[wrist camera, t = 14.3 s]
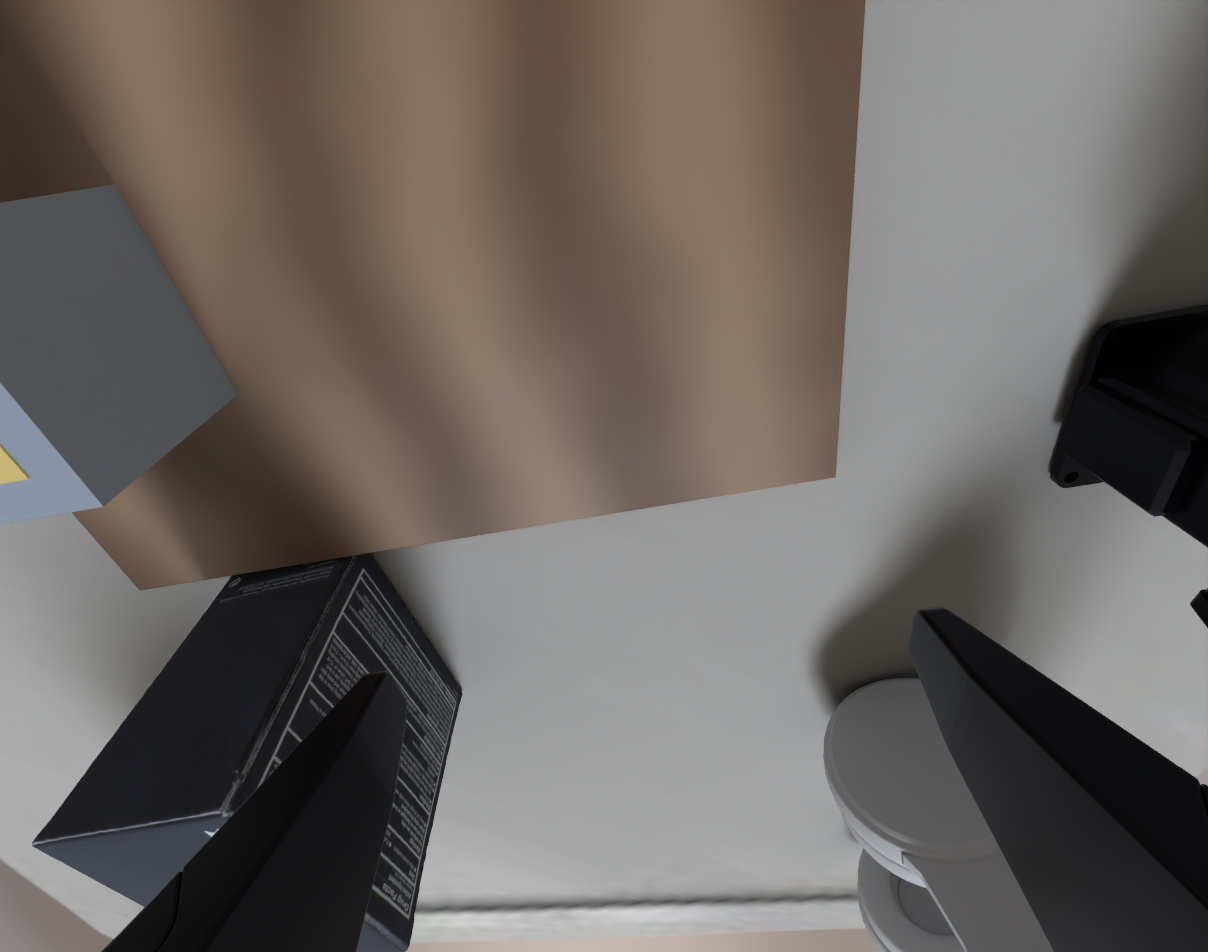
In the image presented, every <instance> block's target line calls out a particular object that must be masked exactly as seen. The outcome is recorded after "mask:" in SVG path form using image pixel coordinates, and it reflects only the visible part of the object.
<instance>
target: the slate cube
mask: <svg viewBox="0 0 1208 952" xmlns="http://www.w3.org/2000/svg"><path fill="white" fill-rule="evenodd" d="M237 395H238V393H237V391H236V389H235V388H234V386H233V384H232V383H231V381H230V379H229V377H228V376H227V374H226V372H225V371H224V369H223V367H222V366H221V364H220V362H219V360H218V359H217V357H216V355H215V354H214V352H213V350H212V348H211V347H210V345H209V343H208V342H207V340H206V338H205V336H204V335H203V333H202V331H201V330H200V328H199V326H198V325H197V323H196V321H195V319H194V318H193V316H192V314H191V313H190V311H189V309H188V307H187V306H186V304H185V302H184V301H183V299H182V297H181V295H180V294H179V292H178V290H177V289H176V287H175V285H174V283H173V282H172V280H171V278H170V277H169V275H168V273H167V272H166V270H165V268H164V266H163V265H162V263H161V261H160V260H159V258H158V256H157V254H156V253H155V251H154V249H153V248H152V246H151V244H150V242H149V241H148V239H147V237H146V236H145V234H144V232H143V231H142V229H141V227H140V225H139V224H138V222H137V220H136V219H135V217H134V215H133V213H132V212H131V210H130V208H129V207H128V205H127V203H126V201H125V200H124V198H123V196H122V195H121V193H120V191H119V190H118V188H117V186H116V184H114V185H108V186H102V187H95V188H89V189H83V190H77V191H70V192H64V193H58V194H52V195H46V196H39V197H33V198H27V199H21V200H15V201H8V202H2V203H0V525H1V524H7V523H13V522H18V521H24V520H30V519H36V518H41V517H47V516H53V515H59V514H64V513H70V512H76V511H82V510H87V509H93V508H99V507H104V506H105V505H106V504H107V503H108V502H110V501H111V500H112V499H113V498H114V497H116V496H117V495H118V494H119V493H120V492H122V491H123V490H124V489H125V488H126V487H128V486H129V485H130V484H131V483H132V482H134V481H135V480H136V479H137V478H138V477H140V476H141V475H142V474H143V473H144V472H146V471H147V470H148V469H149V468H150V467H152V466H153V465H154V464H155V463H156V462H158V461H159V460H160V459H161V458H162V457H164V456H165V455H166V454H167V453H168V452H170V451H171V450H172V449H173V448H174V447H176V446H177V445H178V444H179V443H180V442H182V441H183V440H184V439H185V438H186V437H188V436H189V435H190V434H191V433H192V432H194V431H195V430H196V429H197V428H198V427H200V426H201V425H202V424H203V423H204V422H206V421H207V420H208V419H209V418H210V417H212V416H213V415H214V414H215V413H216V412H218V411H219V410H220V409H221V408H222V407H223V406H225V405H226V404H227V403H228V402H229V401H231V400H232V399H233V398H234V397H235V396H237Z"/></svg>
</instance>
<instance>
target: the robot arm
mask: <svg viewBox="0 0 1208 952" xmlns="http://www.w3.org/2000/svg"><path fill="white" fill-rule="evenodd" d="M1116 334H1117V335H1116ZM1114 335H1116V336H1115V338H1114V339H1113V340H1112V341H1110V340H1111V339H1112V337H1113V336H1114ZM1050 478H1051V479H1052V481H1053V482H1055V483H1056V484H1057V485H1059V486H1060V487H1062V488H1069V487H1076V486H1082V485H1088V484H1095V483H1101V482H1105V483H1106V484H1108V485H1109V486H1111V487H1112V488H1113V489H1115V490H1116V491H1118V492H1119V493H1121V494H1122V495H1123V496H1125V497H1126V498H1128V499H1129V500H1130V501H1132V502H1133V503H1135V504H1136V505H1137V506H1139V507H1140V508H1142V509H1143V510H1145V511H1146V512H1147V513H1149V514H1150V515H1153V516H1161V515H1162V516H1163V517H1165V518H1166V519H1167V520H1169V521H1170V522H1172V523H1173V524H1175V525H1176V526H1178V527H1179V528H1180V529H1182V530H1183V531H1185V532H1186V533H1188V534H1189V535H1190V536H1192V537H1193V538H1195V539H1196V540H1198V541H1199V542H1200V543H1202V544H1203V545H1205V546H1206V547H1208V305H1203V306H1197V307H1191V308H1186V309H1180V310H1174V311H1168V312H1163V313H1157V314H1151V315H1145V316H1140V317H1134V318H1128V319H1123V320H1117V321H1112V322H1109V323H1107V324H1105V325H1104V326H1102V327H1101V328H1100V329H1099V330H1098V331H1097V332H1096V334H1095V336H1094V338H1093V340H1092V344H1091V347H1090V350H1089V353H1088V356H1087V359H1086V363H1085V366H1084V369H1083V372H1082V375H1081V379H1080V382H1079V385H1078V388H1077V391H1076V394H1075V398H1074V401H1073V404H1072V407H1071V410H1070V413H1069V417H1068V420H1067V423H1066V426H1065V429H1064V433H1063V436H1062V439H1061V442H1060V445H1059V448H1058V452H1057V455H1056V458H1055V461H1054V464H1053V467H1052V471H1051V475H1050ZM1190 605H1191V607H1192V608H1193V609H1194V610H1195V612H1196V613H1197V614H1198V616H1199V617H1200V618H1201V620H1202V621H1203V622H1204V624H1205V625H1206V626H1207V628H1208V588H1207V590H1201V591H1200V592H1199V593H1198V594H1197V595H1196V597H1195V598H1194V599H1193V600H1192V601H1191V603H1190ZM909 650H910V654H911V657H912V660H913V663H914V665H915V668H916V670H917V673H918V675H919V678H920V680H921V683H922V685H923V688H924V691H925V693H926V696H927V698H928V701H929V703H930V706H931V708H932V711H933V713H934V716H935V718H936V721H937V723H938V726H939V728H940V731H941V733H942V736H943V738H944V741H945V743H946V745H947V748H948V750H949V752H950V754H951V756H952V758H953V760H954V762H955V764H956V766H957V768H958V770H959V771H960V773H961V775H962V777H963V779H964V781H965V783H966V785H967V787H968V789H969V791H970V792H971V794H972V796H973V798H974V800H975V802H976V804H977V806H978V808H979V810H980V812H981V813H982V815H983V817H984V819H985V821H986V823H987V825H988V827H989V829H990V831H991V833H992V835H993V836H994V838H995V840H996V842H997V844H998V846H999V848H1000V850H1001V852H1002V854H1003V856H1004V857H1005V859H1006V861H1007V863H1008V865H1009V867H1010V869H1011V871H1012V873H1013V875H1014V877H1015V878H1016V880H1017V882H1018V884H1019V886H1020V888H1021V890H1022V892H1023V894H1024V896H1025V898H1026V899H1027V901H1028V903H1029V905H1030V907H1031V909H1032V911H1033V913H1034V915H1035V917H1036V919H1037V920H1038V922H1039V924H1040V926H1041V928H1042V930H1043V932H1044V934H1045V936H1046V938H1047V940H1048V941H1049V943H1050V945H1051V947H1052V949H1053V951H1054V952H1208V786H1207V785H1205V784H1201V785H1200V783H1199V781H1198V780H1197V779H1196V778H1195V777H1194V776H1192V775H1191V774H1189V773H1188V772H1186V771H1185V770H1183V769H1182V768H1180V767H1179V766H1177V765H1176V764H1174V763H1173V762H1171V761H1170V760H1169V759H1167V758H1166V757H1164V756H1163V755H1161V754H1160V753H1158V752H1157V751H1155V750H1154V749H1152V748H1151V747H1149V746H1148V745H1146V744H1145V743H1144V742H1142V741H1141V740H1139V739H1138V738H1136V737H1135V736H1133V735H1132V734H1130V733H1129V732H1127V731H1126V730H1124V729H1123V728H1121V727H1120V726H1118V725H1117V724H1116V723H1114V722H1113V721H1111V720H1110V719H1108V718H1107V717H1105V716H1104V715H1102V714H1101V713H1099V712H1098V711H1096V710H1095V709H1093V708H1092V707H1091V706H1089V705H1088V704H1086V703H1085V702H1083V701H1082V700H1080V699H1079V698H1077V697H1076V696H1074V695H1073V694H1071V693H1070V692H1068V691H1067V690H1065V689H1064V688H1063V687H1061V686H1060V685H1058V684H1057V683H1055V682H1054V681H1052V680H1051V679H1049V678H1048V677H1046V676H1045V675H1043V674H1042V673H1040V672H1039V671H1038V670H1036V669H1035V668H1033V667H1032V666H1030V665H1029V664H1027V663H1026V662H1024V661H1023V660H1021V659H1020V658H1018V657H1017V656H1015V655H1014V654H1012V653H1011V652H1010V651H1008V650H1007V649H1005V648H1004V647H1002V646H1001V645H999V644H998V643H996V642H995V641H993V640H992V639H990V638H989V637H987V636H986V635H984V634H983V633H982V632H980V631H979V630H977V629H976V628H974V627H973V626H971V625H970V624H968V623H967V622H965V621H964V620H962V619H961V618H959V617H958V616H957V615H955V614H954V613H952V612H951V611H949V610H947V609H945V608H942V607H935V608H926V609H919V610H917V611H916V612H915V614H914V618H913V623H912V629H911V634H910V639H909ZM406 716H407V702H406V699H405V697H404V695H403V693H402V691H401V690H400V688H399V686H398V685H397V683H396V681H395V679H394V678H393V676H392V675H391V674H390V673H389V672H387V671H383V672H374V673H368V674H366V675H364V676H363V677H361V678H360V679H359V680H358V682H357V683H356V684H355V685H354V686H353V687H352V688H351V689H350V690H349V691H348V692H347V693H346V694H345V695H344V696H343V697H342V699H341V700H340V701H339V702H338V703H337V704H336V705H335V706H334V707H333V708H332V709H331V710H330V711H329V712H328V713H327V715H326V716H325V717H324V718H323V719H322V720H321V721H320V722H319V723H318V724H317V725H316V726H315V727H314V728H313V729H312V730H311V732H310V733H309V734H308V735H307V736H306V737H305V738H304V739H303V740H302V741H301V742H300V743H299V744H298V745H297V746H296V748H295V749H294V750H293V751H292V752H291V753H290V754H289V755H288V756H287V757H286V758H285V759H284V760H283V761H282V762H281V763H280V765H279V766H278V767H277V768H276V769H275V770H274V771H273V772H272V773H271V774H270V775H269V776H268V777H267V778H266V779H265V781H264V782H263V783H262V784H261V785H260V786H259V787H258V788H257V789H256V790H255V791H254V792H253V793H252V794H251V795H250V796H249V798H248V799H247V800H246V801H245V802H244V803H243V804H242V805H241V806H240V807H239V808H238V809H237V810H236V811H235V812H234V814H233V815H232V816H231V817H230V818H229V819H228V820H227V821H226V822H225V823H224V824H223V825H222V826H221V827H220V828H219V829H218V831H217V832H216V833H215V834H214V835H213V836H212V837H211V838H210V839H209V840H208V841H207V842H206V843H205V844H204V845H203V847H202V848H201V849H200V850H199V851H198V852H197V853H196V854H195V855H194V856H193V857H192V858H191V859H190V860H189V861H188V862H187V864H186V865H185V866H184V867H183V871H181V872H178V873H177V874H176V875H175V876H174V877H173V878H172V879H171V880H170V881H169V882H168V884H167V885H166V886H165V887H164V888H163V889H162V890H161V891H160V892H159V893H158V894H157V895H156V896H155V897H154V898H153V899H152V900H151V902H150V903H149V904H148V905H147V906H146V907H145V908H144V909H143V910H142V911H141V912H140V913H139V914H138V915H137V916H136V917H135V918H134V919H133V920H132V921H131V922H130V923H129V924H128V925H127V926H126V927H125V928H124V929H123V930H122V932H121V933H120V934H119V935H118V936H117V937H116V938H115V939H114V940H112V942H110V943H109V944H108V945H107V946H106V947H105V948H104V949H103V950H102V951H101V952H356V950H357V946H358V942H359V938H360V935H361V931H362V927H363V923H364V919H365V915H366V911H367V907H368V903H369V899H370V895H371V891H372V887H373V883H374V879H375V875H376V871H377V867H378V863H379V859H380V855H381V851H382V847H383V843H384V839H385V835H386V831H387V827H388V823H389V819H390V815H391V810H392V806H393V802H394V796H395V791H396V785H397V778H398V771H399V764H400V757H401V751H402V744H403V737H404V730H405V723H406Z"/></svg>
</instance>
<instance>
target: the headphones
mask: <svg viewBox="0 0 1208 952" xmlns="http://www.w3.org/2000/svg"><path fill="white" fill-rule="evenodd" d="M823 756H824V765H825V773H826V777H827V780H828V784H829V787H830V790H831V792H832V794H833V796H834V798H835V801H836V803H837V805H838V807H839V809H840V811H841V813H842V815H843V818H844V820H845V822H846V824H847V826H848V827H849V829H850V830H851V832H852V834H853V835H854V837H855V838H856V840H857V841H858V842H859V843H860V844H861V846H862V847H863V851H862V854H861V857H860V861H859V867H858V901H859V907H860V911H861V915H862V918H863V921H864V924H865V926H866V928H867V931H868V933H869V935H870V937H871V939H872V940H873V942H874V944H875V946H876V947H877V949H878V950H879V951H880V952H1054V951H1053V949H1052V947H1051V945H1050V943H1049V941H1048V940H1047V938H1046V936H1045V934H1044V932H1043V930H1042V928H1041V926H1040V924H1039V922H1038V920H1037V919H1036V917H1035V915H1034V913H1033V911H1032V909H1031V907H1030V905H1029V903H1028V901H1027V899H1026V898H1025V896H1024V894H1023V892H1022V890H1021V888H1020V886H1019V884H1018V882H1017V880H1016V878H1015V877H1014V875H1013V873H1012V871H1011V869H1010V867H1009V865H1008V863H1007V861H1006V859H1005V857H1004V856H1003V854H1002V852H1001V850H1000V848H999V846H998V844H997V842H996V840H995V838H994V836H993V835H992V833H991V831H990V829H989V827H988V825H987V823H986V821H985V819H984V817H983V815H982V813H981V812H980V810H979V808H978V806H977V804H976V802H975V800H974V798H973V796H972V794H971V792H970V791H969V789H968V787H967V785H966V783H965V781H964V779H963V777H962V775H961V773H960V771H959V770H958V768H957V766H956V764H955V762H954V760H953V758H952V756H951V754H950V752H949V750H948V748H947V745H946V743H945V741H944V738H943V736H942V733H941V731H940V728H939V726H938V723H937V721H936V718H935V716H934V713H933V711H932V708H931V706H930V703H929V701H928V698H927V696H926V693H925V691H924V688H923V685H922V683H921V680H920V679H916V678H892V679H886V680H880V681H877V682H874V683H870V684H867V685H865V686H863V687H861V688H859V689H857V690H856V691H854V692H853V693H851V694H850V695H849V696H847V697H846V698H845V699H844V700H843V701H842V702H841V703H840V704H839V705H838V707H837V708H836V710H835V711H834V713H833V714H832V716H831V718H830V721H829V723H828V725H827V729H826V733H825V738H824V755H823Z"/></svg>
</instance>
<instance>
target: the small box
mask: <svg viewBox="0 0 1208 952" xmlns="http://www.w3.org/2000/svg"><path fill="white" fill-rule="evenodd" d="M383 671H387V672H389V673H390V674H391V675H392V676H393V678H394V679H395V681H396V683H397V685H398V686H399V688H400V690H401V691H402V693H403V695H404V697H405V699H406V702H407V716H406V723H405V730H404V737H403V744H402V751H401V757H400V764H399V771H398V778H397V785H396V791H395V796H394V802H393V806H392V810H391V815H390V819H389V823H388V827H387V831H386V835H385V839H384V843H383V847H382V851H381V855H380V859H379V863H378V867H377V871H376V875H375V879H374V883H373V887H372V891H371V895H370V899H369V903H368V907H367V911H366V915H365V919H364V923H363V927H362V931H361V935H360V938H359V942H358V946H357V950H356V952H405V951H407V949H408V947H409V945H410V939H411V935H412V929H413V924H414V913H415V909H416V903H417V898H418V893H419V885H420V881H421V876H422V871H423V865H424V861H425V858H426V849H427V846H428V843H429V837H430V833H431V829H432V826H433V820H434V815H435V810H436V805H437V801H438V797H439V792H440V788H441V782H442V779H443V774H444V769H445V765H446V759H447V755H448V751H449V747H450V742H451V737H452V733H453V728H454V725H455V721H456V717H457V712H458V708H459V704H460V701H461V697H462V691H461V690H460V688H459V687H458V685H457V684H456V682H455V681H454V679H453V677H452V676H451V675H450V673H449V672H448V670H447V669H446V667H445V666H444V664H443V663H442V661H441V660H440V658H439V657H438V655H437V654H436V652H435V651H434V649H433V648H432V646H431V645H430V643H429V642H428V640H427V639H426V637H425V636H424V634H423V633H422V631H421V630H420V628H419V627H418V626H417V624H416V622H415V621H414V619H413V618H412V616H411V615H410V613H409V612H408V611H407V609H406V607H405V606H404V604H403V603H402V602H401V600H400V598H399V597H398V595H397V594H396V593H395V591H394V590H393V588H392V587H391V585H390V583H389V582H388V580H387V579H386V577H385V576H384V575H383V573H382V572H381V570H380V569H379V567H378V566H377V565H376V563H375V561H374V560H373V558H372V557H371V555H370V554H369V553H366V554H360V555H354V556H348V557H342V558H335V559H329V560H323V561H317V562H311V563H305V564H298V565H292V566H286V567H280V568H274V569H268V570H262V571H255V572H249V573H243V574H237V575H232V576H231V578H230V579H229V581H228V582H227V583H226V585H225V586H224V588H223V589H222V591H221V592H220V593H219V594H218V596H217V597H216V598H215V600H214V601H213V602H212V604H211V605H210V607H209V608H208V610H207V611H206V612H205V613H204V615H203V616H202V617H201V619H200V620H199V621H198V623H197V624H196V625H195V627H194V628H193V630H192V631H191V632H190V634H189V635H188V636H187V638H186V639H185V640H184V642H183V643H182V644H181V646H180V647H179V648H178V650H177V651H176V652H175V654H174V655H173V656H172V658H171V659H170V660H169V662H168V663H167V664H166V666H165V667H164V669H163V670H162V671H161V673H160V674H159V675H158V676H157V678H156V679H155V680H154V682H153V683H152V685H151V686H150V687H149V688H148V690H147V691H146V692H145V694H144V695H143V697H142V698H141V699H140V701H139V702H138V703H137V705H136V706H135V707H134V708H133V710H132V711H131V712H130V714H129V715H128V717H127V718H126V719H125V721H124V722H123V723H122V724H121V726H120V727H119V728H118V730H117V731H116V733H115V734H114V735H113V737H112V738H111V739H110V741H109V742H108V743H107V744H106V746H105V747H104V748H103V750H102V751H101V752H100V754H99V755H98V756H97V758H96V759H95V760H94V762H93V763H92V764H91V766H90V767H89V769H88V770H87V771H86V773H85V774H84V776H83V777H82V778H81V779H80V781H79V782H78V783H77V785H76V786H75V788H74V789H73V790H72V792H71V793H70V794H69V796H68V797H67V798H66V800H65V801H64V803H63V804H62V805H61V807H60V808H59V809H58V811H57V812H56V813H55V815H54V816H53V817H52V819H51V820H50V821H49V822H48V824H47V825H46V826H45V827H44V828H43V829H42V831H41V832H40V833H39V834H38V835H37V837H36V838H35V840H34V841H33V842H32V846H33V847H35V848H37V849H39V850H40V851H42V852H44V853H46V854H48V855H49V856H51V857H53V858H55V859H57V860H59V861H61V862H63V863H65V864H66V865H68V866H70V867H72V868H74V869H76V870H77V871H79V872H81V873H83V874H85V875H87V876H89V877H90V878H92V879H94V880H96V881H98V882H100V883H101V884H103V885H105V886H107V887H109V888H111V889H112V890H114V891H116V892H118V893H120V894H122V895H124V896H125V897H127V898H129V899H131V900H133V901H135V902H136V903H138V904H140V905H142V906H144V907H146V906H147V905H148V904H149V903H150V902H151V900H152V899H153V898H154V897H155V896H156V895H157V894H158V893H159V892H160V891H161V890H162V889H163V888H164V887H165V886H166V885H167V884H168V882H169V881H170V880H171V879H172V878H173V877H174V876H175V875H176V874H177V873H178V872H181V871H183V867H184V866H185V865H186V864H187V862H188V861H189V860H190V859H191V858H192V857H193V856H194V855H195V854H196V853H197V852H198V851H199V850H200V849H201V848H202V847H203V845H204V844H205V843H206V842H207V841H208V840H209V839H210V838H211V837H212V836H213V835H214V834H215V833H216V832H217V831H218V829H219V828H220V827H221V826H222V825H223V824H224V823H225V822H226V821H227V820H228V819H229V818H230V817H231V816H232V815H233V814H234V812H235V811H236V810H237V809H238V808H239V807H240V806H241V805H242V804H243V803H244V802H245V801H246V800H247V799H248V798H249V796H250V795H251V794H252V793H253V792H254V791H255V790H256V789H257V788H258V787H259V786H260V785H261V784H262V783H263V782H264V781H265V779H266V778H267V777H268V776H269V775H270V774H271V773H272V772H273V771H274V770H275V769H276V768H277V767H278V766H279V765H280V763H281V762H282V761H283V760H284V759H285V758H286V757H287V756H288V755H289V754H290V753H291V752H292V751H293V750H294V749H295V748H296V746H297V745H298V744H299V743H300V742H301V741H302V740H303V739H304V738H305V737H306V736H307V735H308V734H309V733H310V732H311V730H312V729H313V728H314V727H315V726H316V725H317V724H318V723H319V722H320V721H321V720H322V719H323V718H324V717H325V716H326V715H327V713H328V712H329V711H330V710H331V709H332V708H333V707H334V706H335V705H336V704H337V703H338V702H339V701H340V700H341V699H342V697H343V696H344V695H345V694H346V693H347V692H348V691H349V690H350V689H351V688H352V687H353V686H354V685H355V684H356V683H357V682H358V680H359V679H360V678H361V677H363V676H364V675H366V674H368V673H374V672H383Z"/></svg>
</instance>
